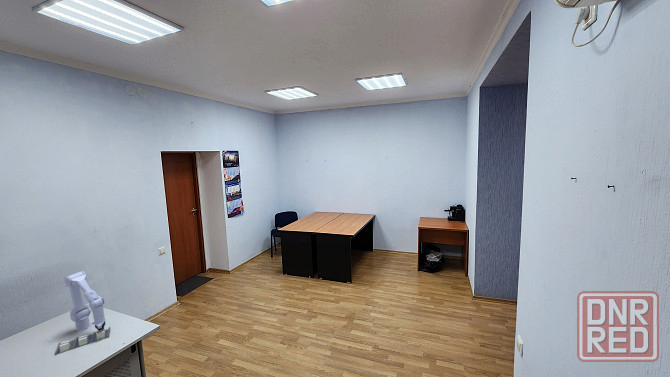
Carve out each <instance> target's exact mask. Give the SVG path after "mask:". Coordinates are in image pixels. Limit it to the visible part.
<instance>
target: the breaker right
mask: <svg viewBox="0 0 670 377" xmlns="http://www.w3.org/2000/svg"><path fill="white" fill-rule="evenodd" d="M69 341H70V340H66V341H63V342H60V343H61V344H60V346H59V347H60V352H62V351H65V350H68V349H69V348H70V342H69Z"/></svg>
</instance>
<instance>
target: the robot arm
mask: <svg viewBox="0 0 670 377" xmlns="http://www.w3.org/2000/svg"><path fill="white" fill-rule="evenodd" d="M64 284H65V286H66V288H69V292H70V295H71V300H72V303H73V308H72V309H71V310H70V312H69V314H70V315H69V316H70V320H71V321H72V322H74V324H75V329H76V332H82V331H85V330H87V329H89V328H90V326H92V325H94V328H95V329H96V331H99V330H102V329H105V326H106V317H105V311H104V306H103V305H104V304H105V300H104V298H103V297H102V296H100V295H98V294H97V292H96V291H95V290H94V289H91V286H89V283H88V282H87V273H86V272H85V271H83V270H80V271H78V272H75V273H73V274H70V275H67V276H65V278H64ZM81 290H82V291H83V293H84V295H83V297H84V298H85V299H86V301H88V304H86V303H85V304H84V300H83V297H82V293H81ZM91 312H92V317H93V322H90V315H91Z"/></svg>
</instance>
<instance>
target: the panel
mask: <svg viewBox="0 0 670 377" xmlns="http://www.w3.org/2000/svg"><path fill="white" fill-rule="evenodd" d="M96 333H97V332H92V333H91V334H86V335H87V336H88V343H87V344H84V345H81V346H79V341H78V340H79V337H78V336H76V337H75V339H71V340H68V341H69V342H70V348H69V349H68V350H65V351H62V352H60V347H59V346H60V344H61V343H62V342H58V344H57V347H56V349H55V351H54V356H56V355H60V354H62V353H66V352H69V351H72V350H74V349H77V348H81V347H84V346H87V345H90V344H93V343H96V342H99V341H103V340H106V339H109V338H110V336H111V326H109V327H108V329H105V337H103V338H100V339H97V335H96Z"/></svg>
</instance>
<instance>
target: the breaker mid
mask: <svg viewBox="0 0 670 377" xmlns="http://www.w3.org/2000/svg"><path fill="white" fill-rule="evenodd" d="M87 335H88V334H85V335H82V336H79V337H78V338H79V340H78V341H79V346H81V345H84V344H87V343H88V336H87ZM87 345H88V344H87ZM84 346H85V345H84ZM81 347H82V346H81Z"/></svg>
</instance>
